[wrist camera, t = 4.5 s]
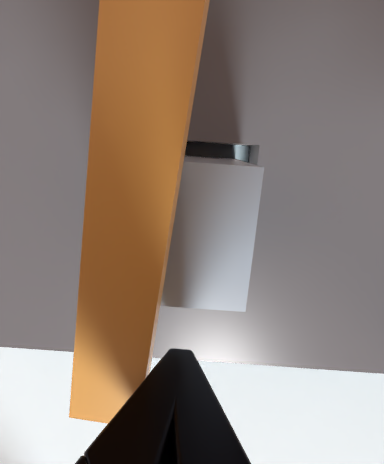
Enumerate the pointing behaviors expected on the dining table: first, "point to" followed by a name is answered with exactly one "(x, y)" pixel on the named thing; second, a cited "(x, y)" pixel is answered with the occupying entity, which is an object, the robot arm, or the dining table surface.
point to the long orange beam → (131, 191)
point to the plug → (213, 234)
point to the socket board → (223, 132)
